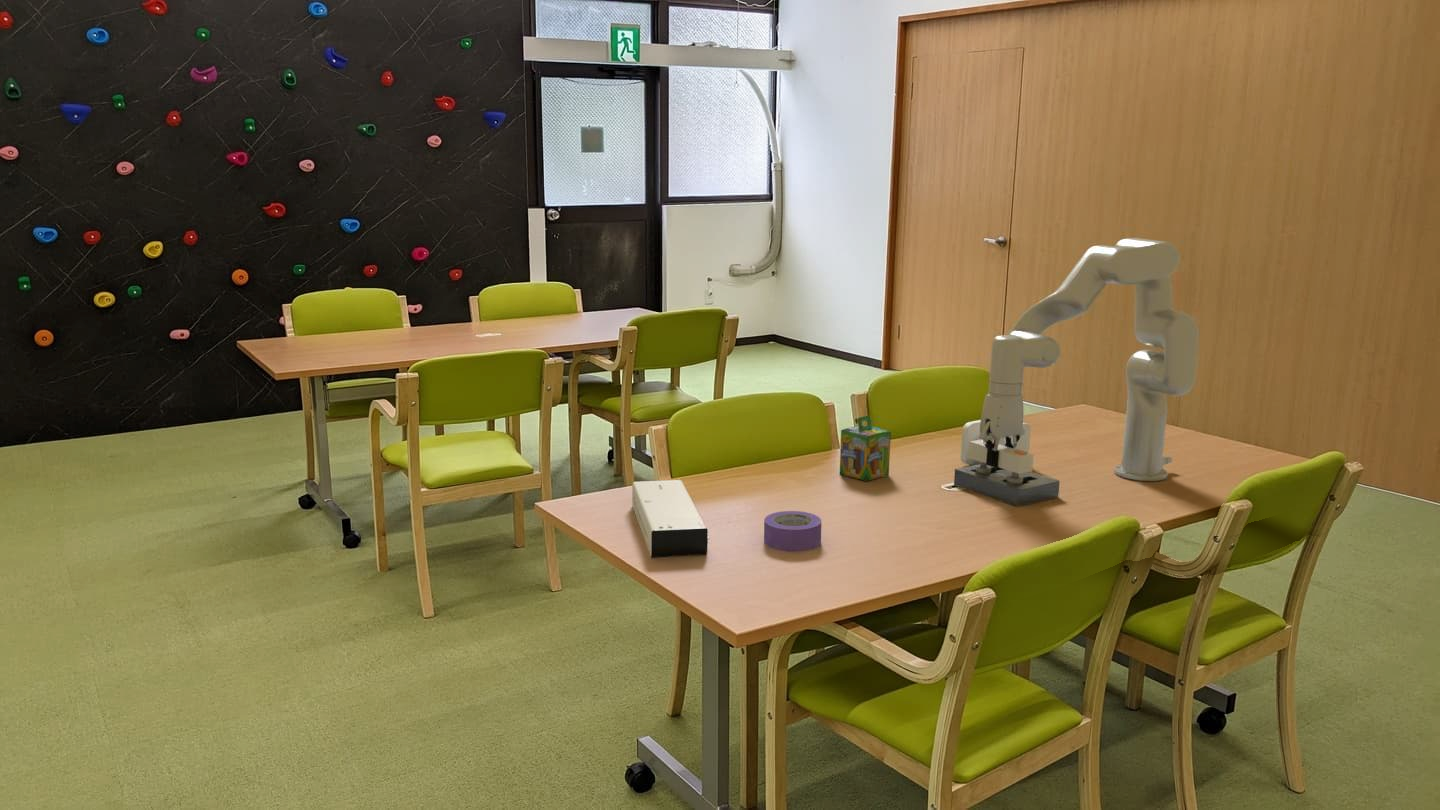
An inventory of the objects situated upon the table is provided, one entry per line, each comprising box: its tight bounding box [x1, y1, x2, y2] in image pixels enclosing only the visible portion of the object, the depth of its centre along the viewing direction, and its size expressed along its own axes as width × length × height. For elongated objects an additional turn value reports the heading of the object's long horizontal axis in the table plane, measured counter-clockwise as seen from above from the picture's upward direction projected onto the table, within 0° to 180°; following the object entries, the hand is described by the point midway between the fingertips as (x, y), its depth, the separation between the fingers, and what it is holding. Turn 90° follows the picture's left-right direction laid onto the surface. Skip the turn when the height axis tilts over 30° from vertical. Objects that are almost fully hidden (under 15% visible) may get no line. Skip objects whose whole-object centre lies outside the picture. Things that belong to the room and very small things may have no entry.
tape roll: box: [763, 510, 822, 553], centre depth 236 cm, size 12×12×5 cm
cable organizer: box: [960, 419, 1032, 466], centre depth 293 cm, size 15×11×12 cm
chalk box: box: [839, 414, 892, 482], centre depth 284 cm, size 9×9×15 cm
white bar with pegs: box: [968, 440, 1035, 486], centre depth 270 cm, size 4×16×8 cm, turn 34°
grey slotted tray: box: [953, 463, 1061, 508], centre depth 273 cm, size 14×20×4 cm
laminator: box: [631, 479, 710, 559], centre depth 243 cm, size 34×12×6 cm, turn 11°
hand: (999, 463), depth 270 cm, fingers closed on white bar with pegs, 4 cm apart
